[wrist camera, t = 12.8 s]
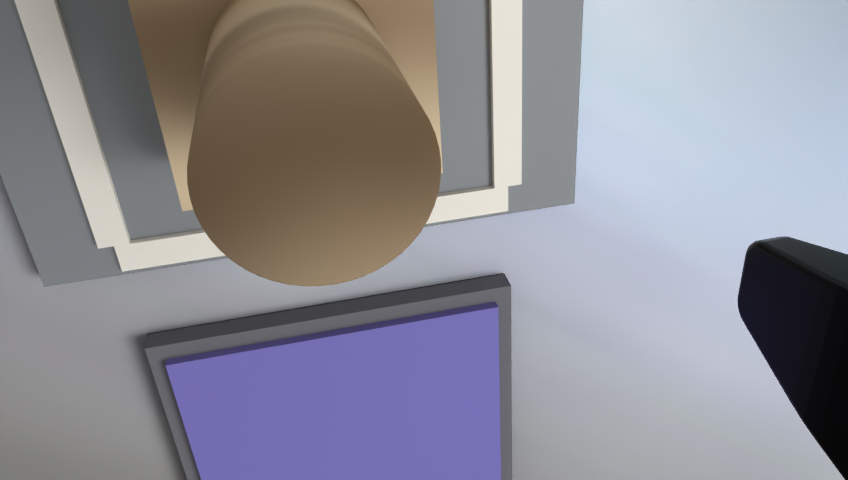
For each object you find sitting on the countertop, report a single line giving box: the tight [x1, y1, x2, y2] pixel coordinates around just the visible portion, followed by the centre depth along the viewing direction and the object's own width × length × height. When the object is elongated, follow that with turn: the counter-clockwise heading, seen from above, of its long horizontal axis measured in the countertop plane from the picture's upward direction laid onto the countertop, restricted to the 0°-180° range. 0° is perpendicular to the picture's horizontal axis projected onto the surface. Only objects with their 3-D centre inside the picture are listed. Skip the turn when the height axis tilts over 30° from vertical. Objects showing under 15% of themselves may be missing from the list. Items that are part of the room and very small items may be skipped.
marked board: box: [0, 0, 583, 287], centre depth 18 cm, size 12×15×1 cm
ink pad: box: [144, 274, 512, 480], centre depth 25 cm, size 11×11×1 cm
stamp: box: [128, 0, 443, 286], centre depth 14 cm, size 6×6×9 cm
